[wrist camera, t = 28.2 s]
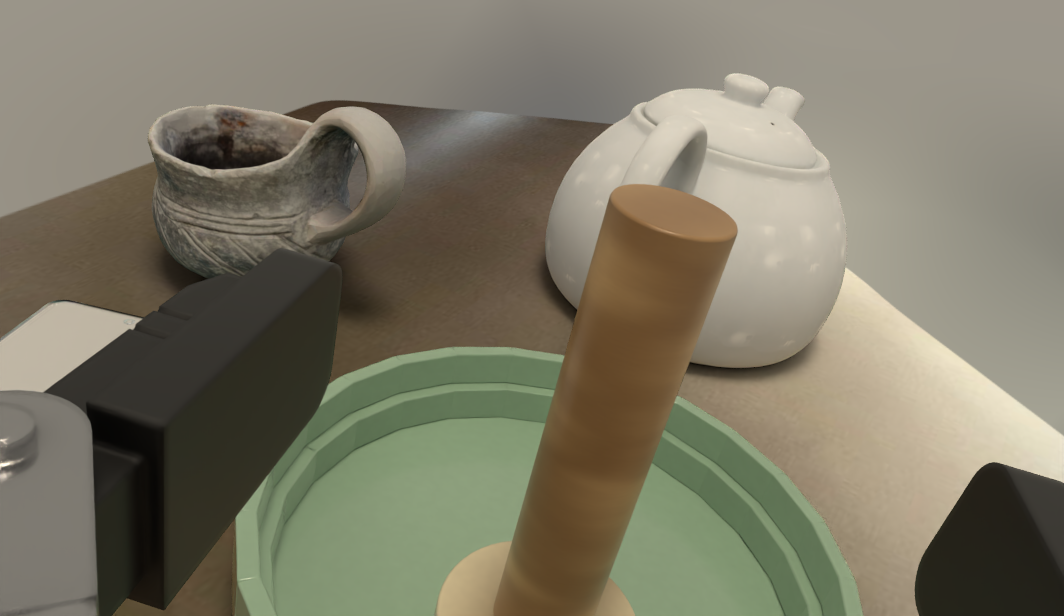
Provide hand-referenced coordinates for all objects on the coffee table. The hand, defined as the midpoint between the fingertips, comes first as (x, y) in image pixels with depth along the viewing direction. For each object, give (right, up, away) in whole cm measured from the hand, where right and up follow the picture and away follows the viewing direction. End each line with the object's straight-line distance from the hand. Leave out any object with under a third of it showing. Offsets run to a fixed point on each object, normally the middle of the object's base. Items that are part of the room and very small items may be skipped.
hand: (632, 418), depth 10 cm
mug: (-14, +3, +31) cm, 34 cm away
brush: (-2, -10, +13) cm, 16 cm away
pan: (-1, -8, +17) cm, 19 cm away
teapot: (+7, +2, +39) cm, 39 cm away
